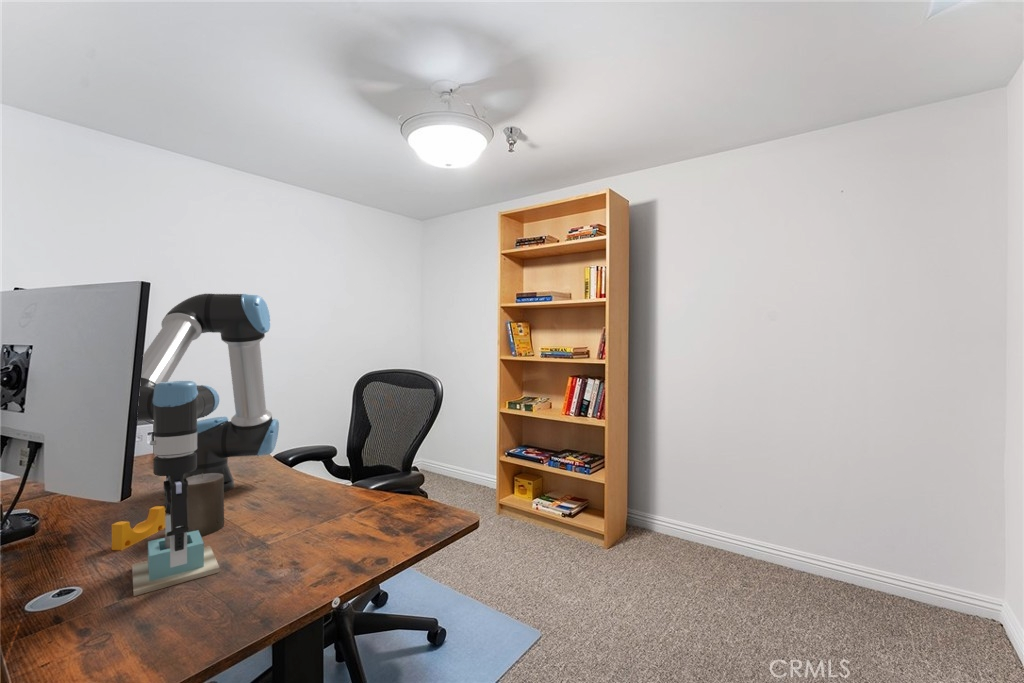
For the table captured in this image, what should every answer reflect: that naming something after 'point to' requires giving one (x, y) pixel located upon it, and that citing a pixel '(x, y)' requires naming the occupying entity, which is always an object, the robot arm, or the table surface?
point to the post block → (145, 585)
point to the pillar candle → (205, 503)
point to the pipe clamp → (137, 529)
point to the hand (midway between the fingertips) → (175, 553)
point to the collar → (161, 557)
